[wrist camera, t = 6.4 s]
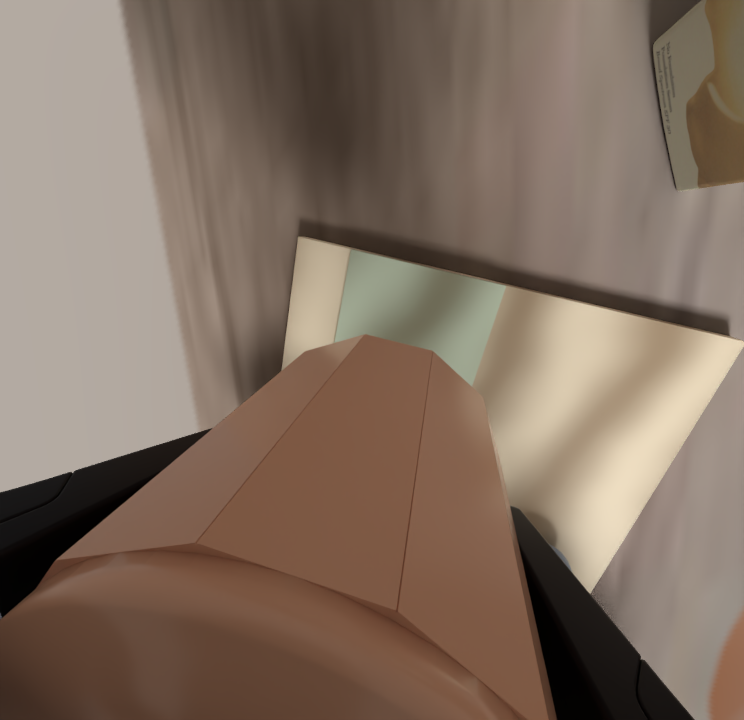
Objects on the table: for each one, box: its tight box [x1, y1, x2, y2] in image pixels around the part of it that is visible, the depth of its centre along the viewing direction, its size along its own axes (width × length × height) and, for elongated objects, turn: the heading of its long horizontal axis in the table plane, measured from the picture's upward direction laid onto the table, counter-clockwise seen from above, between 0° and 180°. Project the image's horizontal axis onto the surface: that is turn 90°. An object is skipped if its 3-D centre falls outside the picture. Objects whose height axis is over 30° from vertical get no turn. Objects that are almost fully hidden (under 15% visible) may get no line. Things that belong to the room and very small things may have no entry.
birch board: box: [282, 237, 744, 594], centre depth 22 cm, size 22×22×1 cm
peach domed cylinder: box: [0, 334, 557, 720], centre depth 7 cm, size 6×6×7 cm
